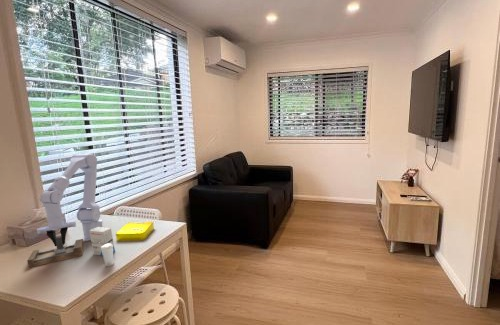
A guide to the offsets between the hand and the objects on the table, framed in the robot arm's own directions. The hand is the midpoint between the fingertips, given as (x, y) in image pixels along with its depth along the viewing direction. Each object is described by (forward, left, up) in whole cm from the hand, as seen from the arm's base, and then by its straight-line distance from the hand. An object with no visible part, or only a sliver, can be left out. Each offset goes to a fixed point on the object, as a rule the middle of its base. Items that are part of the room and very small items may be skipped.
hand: (60, 244), depth 129 cm
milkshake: (-19, +21, -6) cm, 29 cm away
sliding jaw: (0, 0, -4) cm, 4 cm away
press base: (+2, 0, -5) cm, 6 cm away
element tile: (-32, -6, -6) cm, 33 cm away
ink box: (-17, +8, -6) cm, 20 cm away
